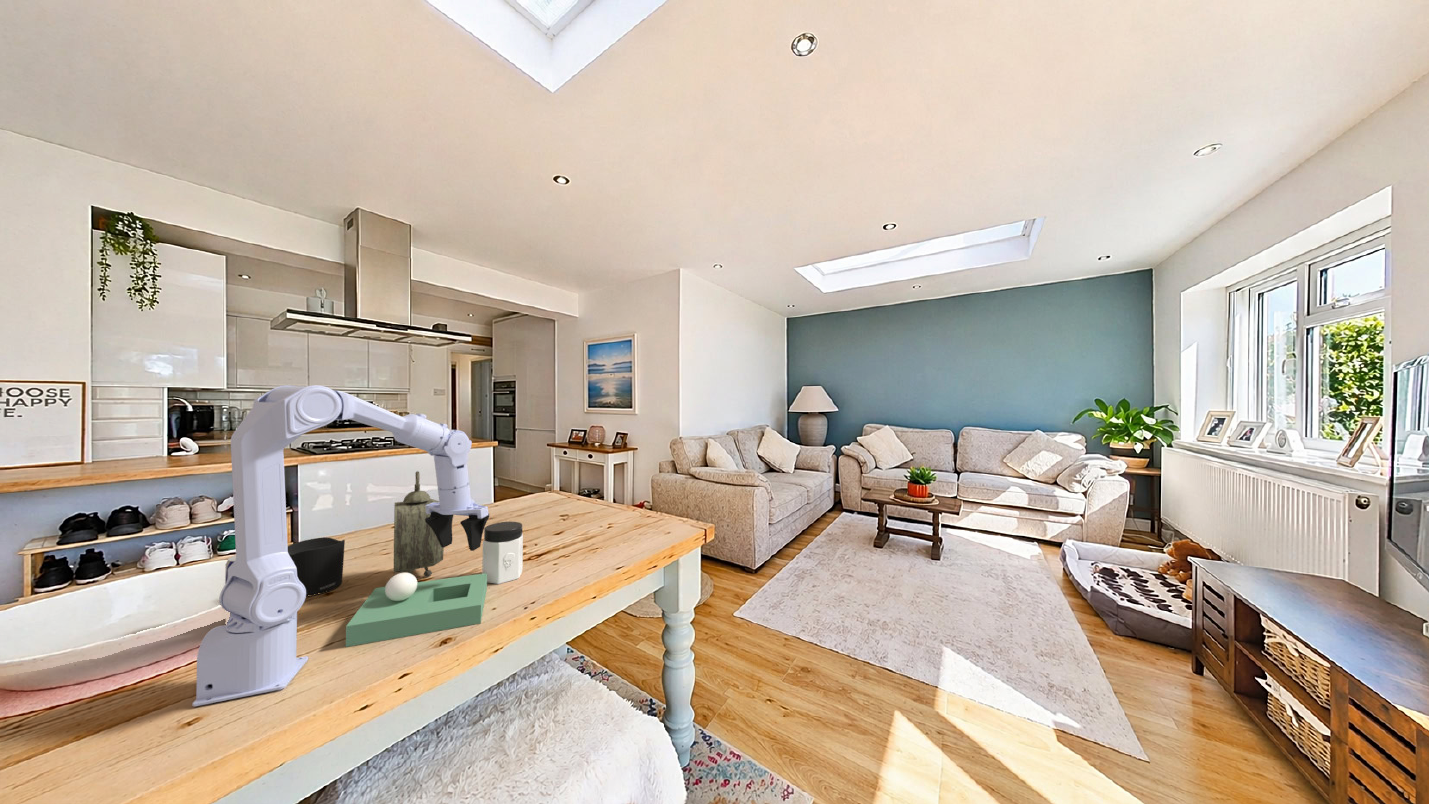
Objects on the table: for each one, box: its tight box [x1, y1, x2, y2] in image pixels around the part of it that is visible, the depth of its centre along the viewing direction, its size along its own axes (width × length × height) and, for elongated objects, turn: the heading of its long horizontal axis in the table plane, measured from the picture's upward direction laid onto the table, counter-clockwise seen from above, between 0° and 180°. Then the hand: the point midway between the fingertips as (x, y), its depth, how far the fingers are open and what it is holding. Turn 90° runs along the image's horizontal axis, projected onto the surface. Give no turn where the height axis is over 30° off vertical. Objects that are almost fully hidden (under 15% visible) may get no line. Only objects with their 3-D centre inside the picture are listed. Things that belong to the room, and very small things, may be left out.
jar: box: [481, 521, 524, 585], centre depth 102 cm, size 9×8×12 cm
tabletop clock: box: [393, 471, 445, 578], centre depth 100 cm, size 14×9×25 cm, turn 37°
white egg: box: [384, 572, 418, 601], centre depth 82 cm, size 5×5×5 cm
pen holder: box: [287, 536, 346, 597], centre depth 94 cm, size 9×9×10 cm
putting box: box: [345, 573, 488, 648], centre depth 83 cm, size 20×16×4 cm
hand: (460, 547), depth 92 cm, fingers open, 7 cm apart
